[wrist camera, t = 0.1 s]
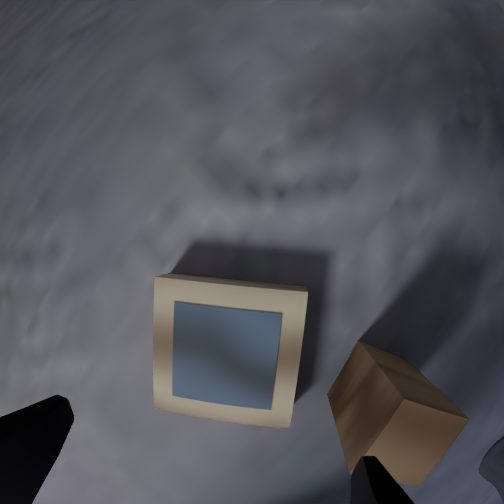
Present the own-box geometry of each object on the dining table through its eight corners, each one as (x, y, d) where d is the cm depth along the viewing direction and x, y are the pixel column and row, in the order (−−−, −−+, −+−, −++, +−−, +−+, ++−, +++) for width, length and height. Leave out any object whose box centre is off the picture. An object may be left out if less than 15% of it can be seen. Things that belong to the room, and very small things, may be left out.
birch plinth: (289, 408, 23) (289, 428, 20) (167, 391, 24) (153, 408, 21) (304, 285, 23) (308, 292, 19) (170, 272, 23) (154, 276, 20)
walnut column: (377, 412, 22) (417, 486, 12) (327, 394, 23) (349, 473, 13) (408, 361, 22) (468, 419, 12) (358, 340, 22) (404, 398, 12)
